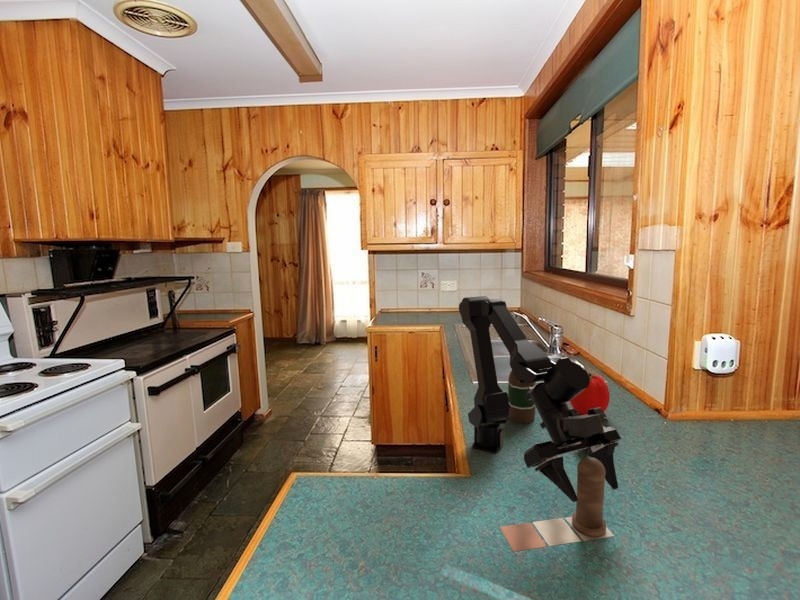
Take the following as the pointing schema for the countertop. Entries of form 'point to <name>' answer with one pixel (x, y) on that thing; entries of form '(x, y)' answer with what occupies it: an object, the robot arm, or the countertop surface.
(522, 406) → the beer bottle
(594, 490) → the pawn
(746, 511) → the countertop surface
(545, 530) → the board
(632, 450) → the countertop surface
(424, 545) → the countertop surface
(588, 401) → the tomato
